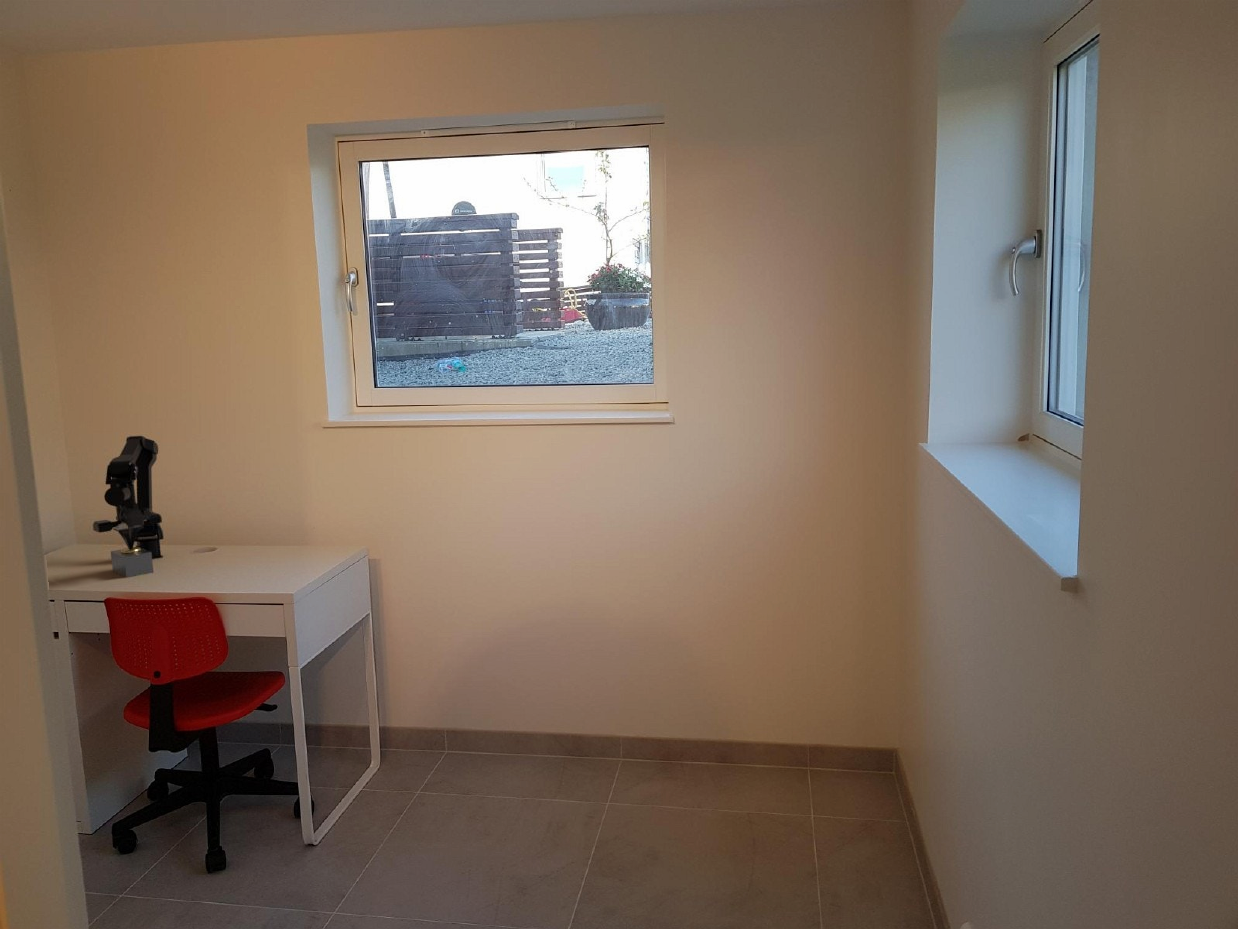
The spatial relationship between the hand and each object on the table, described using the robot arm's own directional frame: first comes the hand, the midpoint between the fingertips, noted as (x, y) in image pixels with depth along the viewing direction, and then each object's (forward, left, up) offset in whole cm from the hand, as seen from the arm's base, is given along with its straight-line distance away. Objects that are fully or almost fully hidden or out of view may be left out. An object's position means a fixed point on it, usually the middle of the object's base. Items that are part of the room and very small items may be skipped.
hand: (130, 549), depth 310 cm
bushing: (0, 0, -7) cm, 7 cm away
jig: (0, 0, -7) cm, 7 cm away
